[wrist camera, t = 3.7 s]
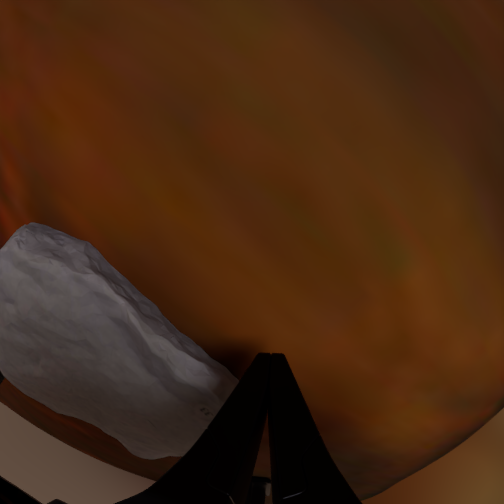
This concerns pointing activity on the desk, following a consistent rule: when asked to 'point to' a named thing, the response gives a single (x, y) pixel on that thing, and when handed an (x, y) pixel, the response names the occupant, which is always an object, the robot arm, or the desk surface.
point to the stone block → (101, 347)
